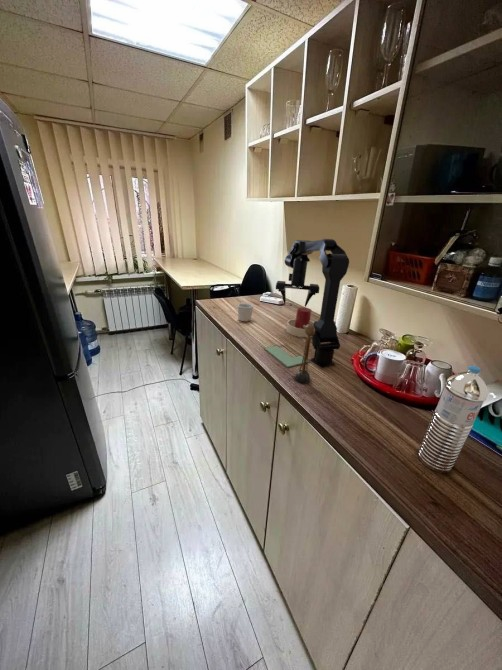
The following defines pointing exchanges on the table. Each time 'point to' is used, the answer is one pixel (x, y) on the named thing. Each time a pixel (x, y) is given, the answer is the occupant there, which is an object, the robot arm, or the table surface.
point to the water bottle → (452, 420)
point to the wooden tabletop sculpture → (303, 374)
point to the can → (302, 317)
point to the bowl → (296, 329)
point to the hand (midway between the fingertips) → (294, 305)
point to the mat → (285, 356)
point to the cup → (245, 311)
